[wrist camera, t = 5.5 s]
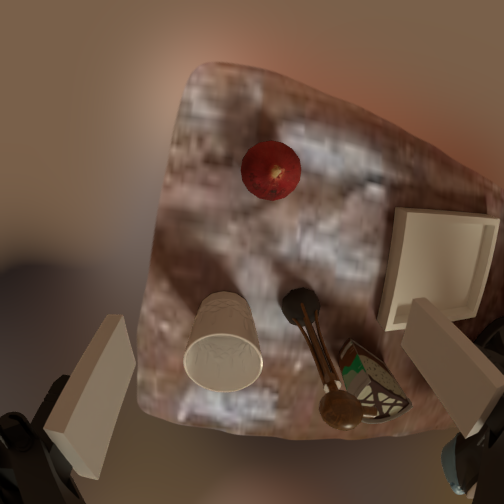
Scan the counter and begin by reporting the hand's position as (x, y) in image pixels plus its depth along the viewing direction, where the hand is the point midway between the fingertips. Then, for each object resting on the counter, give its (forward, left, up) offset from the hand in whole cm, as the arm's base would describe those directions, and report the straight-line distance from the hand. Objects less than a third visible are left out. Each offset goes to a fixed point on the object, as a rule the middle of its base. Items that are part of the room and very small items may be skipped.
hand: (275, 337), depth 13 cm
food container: (-16, +22, -23) cm, 36 cm away
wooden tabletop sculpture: (-7, +11, -23) cm, 27 cm away
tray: (-27, +6, -23) cm, 36 cm away
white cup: (+3, +12, -23) cm, 26 cm away
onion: (-2, -5, -23) cm, 24 cm away
